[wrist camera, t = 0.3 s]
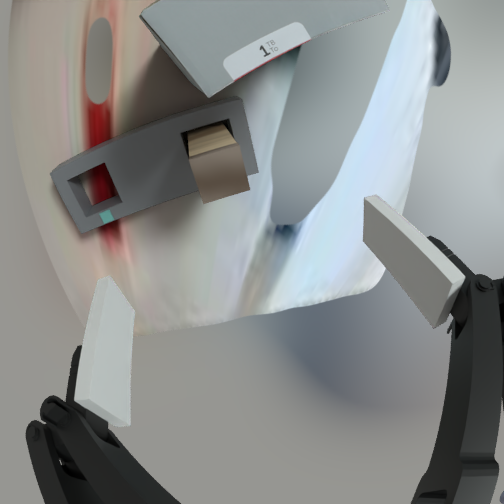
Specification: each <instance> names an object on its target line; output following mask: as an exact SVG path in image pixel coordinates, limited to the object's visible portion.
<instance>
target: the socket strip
mask: <svg viewBox="0 0 504 504" xmlns="http://www.w3.org/2000/svg"><path fill="white" fill-rule="evenodd" d="M225 119H227V123H228V127H229V131H230V134H231V135H232V137H233V138H234V140H235V141H236V142H237V143H238V144H239V145H240V150H241V154H242V158H243V162H244V166H245V170H246V174H247V176H248V175H252V174H255V173H259V171H258V167H257V162H256V158H255V153H254V149H253V144H252V140H251V135H250V131H249V127H248V122H247V118H246V114H245V109H244V105H243V101H242V99H241V98H239V97H237V96H236V97H232V98H228V99H224V100H220V101H217V102H213V103H209V104H206V105H202V106H199V107H196V108H192V109H189V110H186V111H183V112H180V113H177V114H174V115H171V116H168V117H165V118H162V119H159V120H156V121H154V122H151V123H148V124H146V125H143V126H141V127H138V128H136V129H133V130H131V131H128V132H126V133H123V134H121V135H119V136H116V137H114V138H112V139H110V140H107V141H105V142H103V143H101V144H99V145H97V146H94V147H92V148H90V149H88V150H86V151H84V152H82V153H80V154H78V155H76V156H74V157H72V158H71V159H69V160H67V161H65V162H63V163H61V164H59V165H58V166H57V167H56V168H55V169H54V170H53V171H52V172H51V173H50V175H51V177H52V179H53V182H54V184H55V186H56V188H57V190H58V192H59V194H60V196H61V198H62V199H63V201H64V203H65V205H66V207H67V209H68V211H69V213H70V214H71V216H72V218H73V220H74V222H75V223H76V225H77V227H78V229H79V230H80V232H81V234H83V233H85V232H87V231H90V230H92V229H94V228H97V227H99V226H102V225H104V224H107V223H109V222H112V221H114V220H117V219H119V218H122V217H125V216H127V215H130V214H132V213H135V212H138V211H141V210H143V209H146V208H149V207H151V206H154V205H157V204H160V203H163V202H166V201H168V200H171V199H174V198H177V197H180V196H183V195H186V194H189V193H192V192H195V191H198V190H199V189H198V186H197V183H196V180H195V177H194V174H193V171H192V168H191V165H190V162H189V153H188V150H187V146H186V143H185V140H184V137H183V134H182V132H185V131H188V130H191V129H194V128H197V127H201V126H204V125H207V124H211V123H214V122H218V121H221V120H225ZM104 162H105V164H106V166H107V169H108V171H109V173H110V176H111V178H112V180H113V182H114V185H115V187H116V189H117V191H118V193H119V195H117V196H114V197H112V198H110V199H107V200H105V201H102V202H100V203H98V204H96V205H93V206H92V204H91V202H90V200H89V198H88V196H87V194H86V192H85V190H84V188H83V186H82V184H81V182H80V180H79V178H78V176H77V175H79V174H81V173H83V172H85V171H87V170H89V169H91V168H93V167H96V166H98V165H100V164H102V163H104Z"/></svg>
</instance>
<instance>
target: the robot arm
mask: <svg viewBox="0 0 504 504" xmlns="http://www.w3.org/2000/svg"><path fill="white" fill-rule="evenodd" d="M363 242H364V243H365V244H366V245H367V246H368V247H369V248H370V250H371V251H372V252H373V253H374V254H375V255H376V257H377V258H378V259H379V260H380V261H381V262H382V264H383V265H384V266H385V267H386V268H387V270H388V271H389V272H390V273H391V274H392V275H393V277H394V278H395V279H396V281H397V282H398V283H399V284H400V286H401V287H402V288H403V289H404V290H405V292H406V293H407V294H408V296H409V297H410V298H411V299H412V301H413V302H414V303H415V305H416V306H417V307H418V309H419V310H420V311H421V312H422V314H423V315H424V316H425V318H426V319H427V321H428V322H429V323H430V325H431V326H432V328H433V329H434V328H436V327H438V326H439V325H441V324H443V323H444V322H446V320H447V318H448V316H449V314H450V313H451V315H452V316H453V317H454V318H453V320H452V322H451V324H450V326H449V328H448V331H447V333H448V334H449V332H450V330H451V329H452V335H451V351H450V363H449V373H448V380H447V388H446V394H445V400H444V406H443V412H442V417H441V421H440V426H439V431H438V435H437V439H436V443H435V447H434V450H433V454H432V458H431V461H430V464H429V467H428V470H427V471H426V473H425V474H424V475H423V477H422V478H421V480H420V482H419V484H418V487H417V489H416V492H415V494H414V497H413V500H412V502H411V504H490V503H491V499H492V496H493V493H494V490H495V486H496V482H497V478H498V473H499V465H498V463H497V462H496V460H495V458H494V454H495V448H496V442H497V436H498V430H499V422H500V413H501V400H503V409H504V277H503V278H502V279H497V280H492V279H490V278H489V277H487V276H485V275H482V274H477V275H475V274H474V273H473V272H472V271H471V270H470V269H469V268H468V267H467V266H466V265H465V264H464V263H463V262H462V261H461V260H460V259H459V258H458V257H457V256H456V255H454V254H453V252H452V251H451V250H450V249H448V247H446V245H444V244H443V243H442V242H441V241H440V240H438V239H436V238H434V237H432V236H429V237H425V236H424V235H423V234H422V233H421V232H419V230H417V229H416V228H415V227H414V226H413V225H412V224H411V223H410V222H409V221H407V220H406V219H405V218H404V217H403V216H402V215H400V214H399V213H398V212H397V211H396V210H395V209H393V208H392V207H391V206H390V205H389V204H387V203H386V202H385V201H384V200H382V199H381V198H380V197H379V196H378V195H372V196H368V197H365V198H364V227H363ZM134 317H135V311H134V309H133V308H132V307H131V305H130V304H129V302H128V301H127V300H126V298H125V297H124V295H123V294H122V292H121V291H120V289H119V288H118V286H117V285H116V283H115V282H114V280H113V279H112V277H111V276H107V277H104V278H101V279H98V281H97V285H96V289H95V292H94V296H93V300H92V304H91V308H90V312H89V316H88V321H87V325H86V330H85V335H84V340H83V345H81V346H77V349H76V350H75V352H74V354H73V357H72V362H71V368H70V376H69V380H68V388H67V394H66V402H64V401H63V400H61V399H60V398H59V397H57V396H54V395H53V396H49V397H48V398H46V399H45V400H44V402H43V403H42V406H41V409H40V416H41V420H42V421H44V422H46V424H42V423H41V422H39V421H37V420H34V421H31V423H30V424H29V425H28V427H27V429H26V441H27V445H28V449H29V454H30V458H31V461H32V465H33V469H34V472H35V475H36V479H37V482H38V485H39V488H40V491H41V494H42V496H43V499H44V502H45V504H181V503H180V502H179V501H177V500H176V499H175V498H174V497H173V496H172V495H171V494H170V493H168V492H167V491H166V490H165V489H164V488H163V487H162V486H161V485H160V484H159V483H158V482H157V481H156V480H155V479H154V478H153V477H152V476H151V475H150V474H149V473H148V472H147V471H146V470H145V469H144V468H143V467H142V466H141V465H140V464H139V463H138V461H137V460H136V459H135V458H134V457H133V456H132V455H131V454H130V453H129V451H128V450H127V449H126V448H125V447H124V446H123V444H122V443H121V442H120V441H119V440H118V438H117V437H116V436H115V435H114V433H113V432H112V431H111V430H109V429H108V423H110V424H112V425H114V426H115V427H122V426H131V412H130V393H131V387H130V386H131V360H132V342H133V329H134ZM59 460H61V463H62V465H61V464H60V461H59ZM500 502H501V503H504V491H503V493H502V494H501V496H500Z"/></svg>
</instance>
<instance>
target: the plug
mask: <svg viewBox="0 0 504 504" xmlns="http://www.w3.org/2000/svg"><path fill="white" fill-rule="evenodd" d="M188 145H189V162H190V165H191V168H192V171H193V174H194V177H195V180H196V183H197V186H198V189H199V192H200V195H201V198H202V201H203V204H205V203H208V202H212V201H215V200H218V199H221V198H225V197H228V196H231V195H234V194H238V193H241V192H245V191H248V190H250V187H249V183H248V178H247V174H246V170H245V166H244V162H243V158H242V154H241V150H240V145H239V144H238V143H237V142H236V141H235V140H234V138H233V137H232V135H231V134H230V133H229V131H228V130H227V128H226V127H225V126H224V124H223V123H222V121H219V122H215V123H212V124H208V125H205V126H201V127H198V128H195V129H192V130H189V131H188Z"/></svg>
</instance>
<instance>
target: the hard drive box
mask: <svg viewBox="0 0 504 504" xmlns="http://www.w3.org/2000/svg"><path fill="white" fill-rule="evenodd" d="M388 11H390V10H389V7H388V5H387V3H386V1H385V0H156V1H155V2H153V3H152V4H151V5H149V6H148V7H146V8H145V9H144V10H143V11H142V12H141V15H139V17H140V19H141V20H142V21H143V23H144V24H145V25H146V27H147V28H148V29H149V30H150V32H151V33H152V34H153V36H154V37H155V38H156V40H157V41H158V42H159V44H160V45H161V47H162V48H163V50H164V51H165V52H166V53H167V54H168V56H169V57H170V58H171V59H172V61H173V62H174V63H175V64H176V65H177V67H178V68H179V69H180V70H181V71H182V73H183V74H184V75H185V76H186V78H187V79H188V80H189V81H190V82H191V83H192V84H193V85H194V86H195V87H196V88H198V89H199V90H200V91H201V92H203V93H204V94H205V95H206V96H207V97H208V98H210V97H211V96H213V95H214V94H216V93H217V92H219V91H221V90H222V89H224V88H225V87H227V86H228V85H230V84H231V83H233V82H235V81H237V80H238V79H240V78H242V77H243V76H245V75H247V74H248V73H250V72H252V71H253V70H255V69H257V68H259V67H260V66H262V65H264V64H266V63H268V62H269V61H271V60H273V59H275V58H277V57H279V56H280V55H282V54H284V53H286V52H288V51H290V50H292V49H294V48H296V47H298V46H300V45H302V44H304V43H306V42H308V41H310V40H312V39H314V38H316V37H318V36H321V35H323V34H325V33H328V32H331V31H333V30H336V29H339V28H341V27H344V26H346V25H349V24H352V23H355V22H357V21H360V20H363V19H366V18H369V17H372V16H375V15H378V14H382V13H385V12H388Z"/></svg>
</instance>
